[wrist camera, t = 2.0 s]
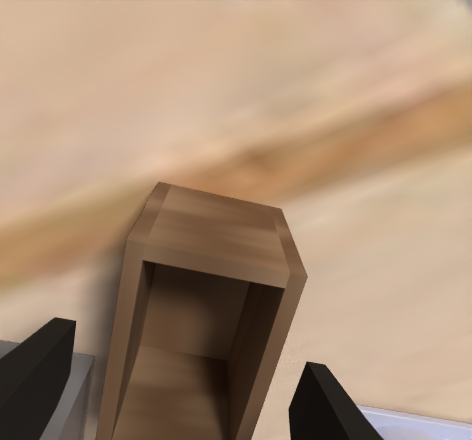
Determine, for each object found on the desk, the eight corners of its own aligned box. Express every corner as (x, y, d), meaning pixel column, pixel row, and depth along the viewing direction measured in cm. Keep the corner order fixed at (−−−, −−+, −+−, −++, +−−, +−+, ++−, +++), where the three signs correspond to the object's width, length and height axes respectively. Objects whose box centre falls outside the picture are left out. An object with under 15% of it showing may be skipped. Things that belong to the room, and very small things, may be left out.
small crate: (281, 209, 16) (307, 276, 11) (235, 363, 19) (238, 474, 14) (158, 181, 16) (126, 239, 10) (129, 344, 18) (93, 453, 13)
